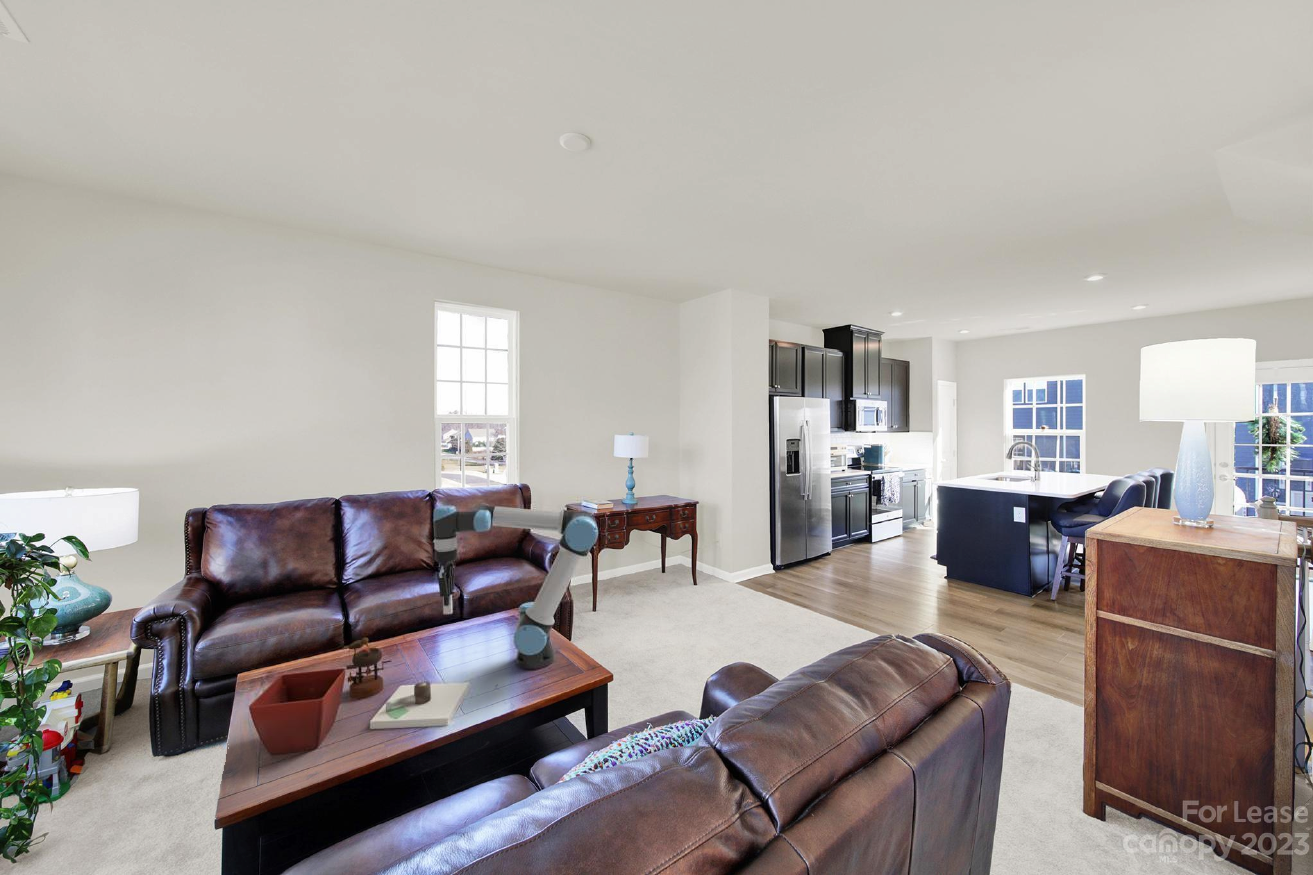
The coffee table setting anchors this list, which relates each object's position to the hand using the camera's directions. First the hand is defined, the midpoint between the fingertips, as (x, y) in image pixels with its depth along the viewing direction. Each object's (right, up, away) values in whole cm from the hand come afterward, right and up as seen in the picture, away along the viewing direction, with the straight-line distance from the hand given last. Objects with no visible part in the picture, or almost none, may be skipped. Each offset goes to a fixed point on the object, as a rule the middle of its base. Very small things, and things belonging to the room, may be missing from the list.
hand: (448, 613), depth 189 cm
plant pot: (-32, -29, -31) cm, 53 cm away
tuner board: (-3, -27, -14) cm, 31 cm away
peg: (-6, -25, -17) cm, 30 cm away
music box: (-27, -27, -2) cm, 39 cm away
